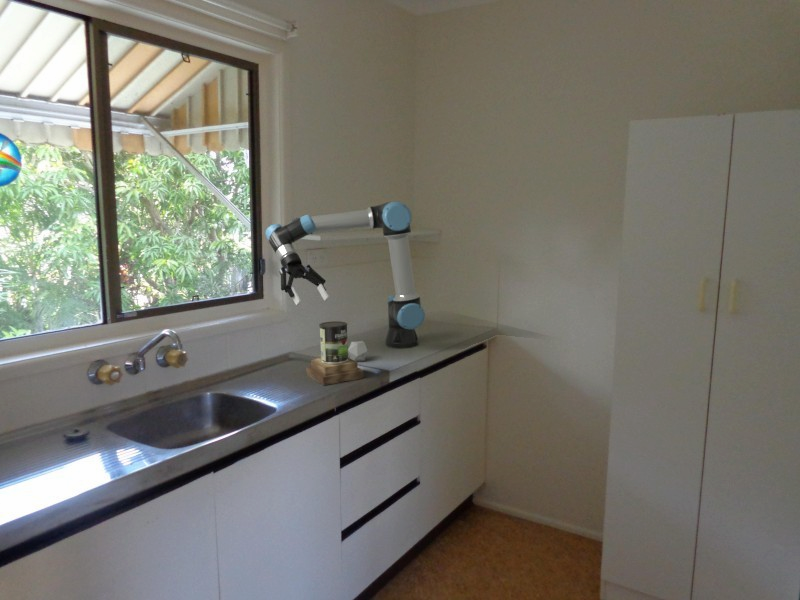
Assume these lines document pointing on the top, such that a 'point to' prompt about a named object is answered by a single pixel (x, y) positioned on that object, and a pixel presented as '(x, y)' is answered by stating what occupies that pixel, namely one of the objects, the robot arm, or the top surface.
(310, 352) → the top surface
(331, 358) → the coffee can
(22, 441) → the top surface
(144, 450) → the top surface
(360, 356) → the die
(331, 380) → the tower base
